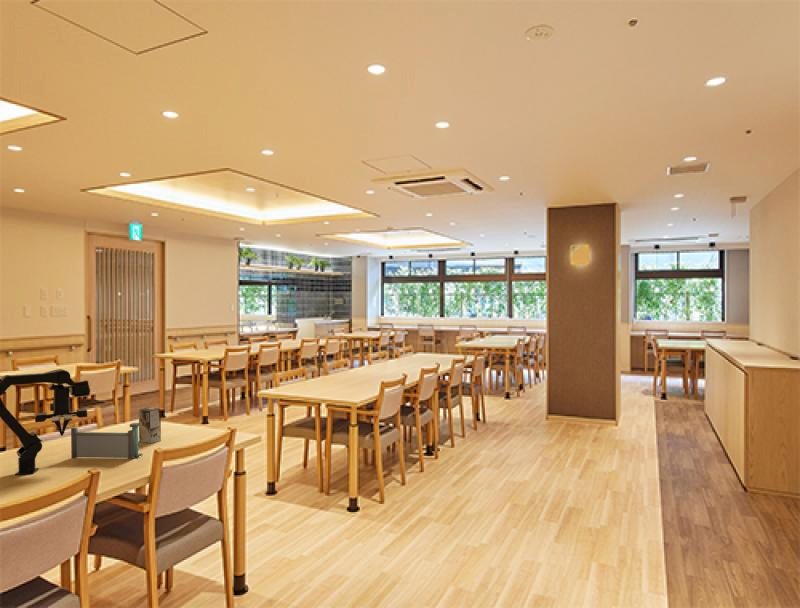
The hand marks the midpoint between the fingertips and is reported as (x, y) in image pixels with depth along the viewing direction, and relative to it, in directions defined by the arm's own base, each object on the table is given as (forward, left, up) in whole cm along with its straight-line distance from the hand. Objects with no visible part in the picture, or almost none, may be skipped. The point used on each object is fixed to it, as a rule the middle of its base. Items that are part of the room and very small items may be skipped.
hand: (62, 435), depth 228 cm
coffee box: (+32, -29, -13) cm, 45 cm away
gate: (+6, -14, -12) cm, 20 cm away
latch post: (+5, -27, -13) cm, 31 cm away
